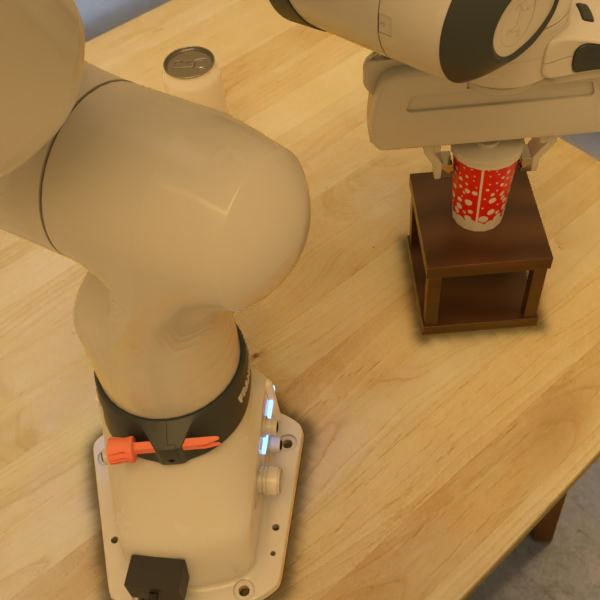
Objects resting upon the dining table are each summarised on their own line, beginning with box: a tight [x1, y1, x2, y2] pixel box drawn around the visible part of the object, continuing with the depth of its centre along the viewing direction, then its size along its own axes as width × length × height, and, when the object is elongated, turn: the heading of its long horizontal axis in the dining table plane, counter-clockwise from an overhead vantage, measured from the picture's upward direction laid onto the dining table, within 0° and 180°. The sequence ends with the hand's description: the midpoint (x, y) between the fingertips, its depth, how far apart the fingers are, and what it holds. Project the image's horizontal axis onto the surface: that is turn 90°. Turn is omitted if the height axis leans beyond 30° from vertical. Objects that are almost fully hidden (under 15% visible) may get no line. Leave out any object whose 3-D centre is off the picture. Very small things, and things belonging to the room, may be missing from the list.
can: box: [161, 45, 229, 114], centre depth 97 cm, size 6×6×12 cm
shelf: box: [406, 164, 554, 336], centre depth 82 cm, size 12×11×10 cm
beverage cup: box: [450, 138, 526, 231], centre depth 73 cm, size 6×6×14 cm
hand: (484, 170), depth 74 cm, fingers closed on beverage cup, 6 cm apart
